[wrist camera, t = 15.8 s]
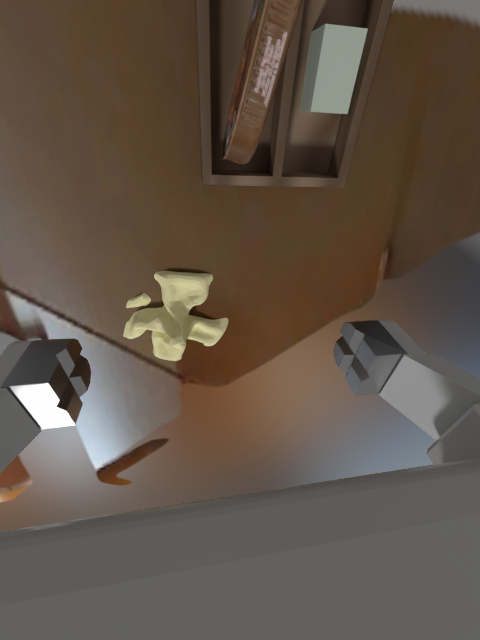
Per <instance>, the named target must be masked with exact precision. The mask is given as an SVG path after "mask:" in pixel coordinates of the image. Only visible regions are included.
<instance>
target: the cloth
mask: <svg viewBox="0 0 480 640" xmlns="http://www.w3.org/2000/svg"><path fill="white" fill-rule="evenodd" d="M154 278H155V279H156V280H157V281H158V282H159V283H160V285H161V288H162V300H163V303H164V305H163V307H162V308H146V309H142V310H139V311H137V312H135V313H134V314H133V315H132V317H131V319H130V320H129V321H128V322H127V323H126V326H125V330H124V335H123V336H124V337H127V338H129V339H133V338H136V337H138V336H140V335H142V334H143V333H144V332H145V331H146V329H147V330H152V342H153V346H154V350H153V353H154V355H155V356H156V357H158V358H161V359H165V360H172V361H177V360H180V359H182V354H183V352H184V350H185V347H186V340H187V339H192V340H196V341H199V342H202V343H204V345H205V346H212V345H214V344H215V343H217V342H218V340H219V339H220V338H221V337H222V335H223V334H224V332H225V330H226V328H227V325H228V319H227V318H222V319H218V320H210V319H205V318H201V317H196V316H191V315H188V314H189V311H190V310H191V308H192V307H193V306H195V305H200V304H202V303H203V302H204V301H205V300H206V298H207V296H208V293H209V285H210V283H211V281H212V280H213V276H212V274H207V273H189V272H173V271H159V272H156V273H155V274H154ZM150 301H151V299H150V297H149V296H148V295H146V294H145V293H142V294H141V295H139V296H137V297H135V298H132V299H130V300H128V302H127V305H126V308H130V307H139V306H146V305H147V304H149V303H150Z"/></svg>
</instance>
